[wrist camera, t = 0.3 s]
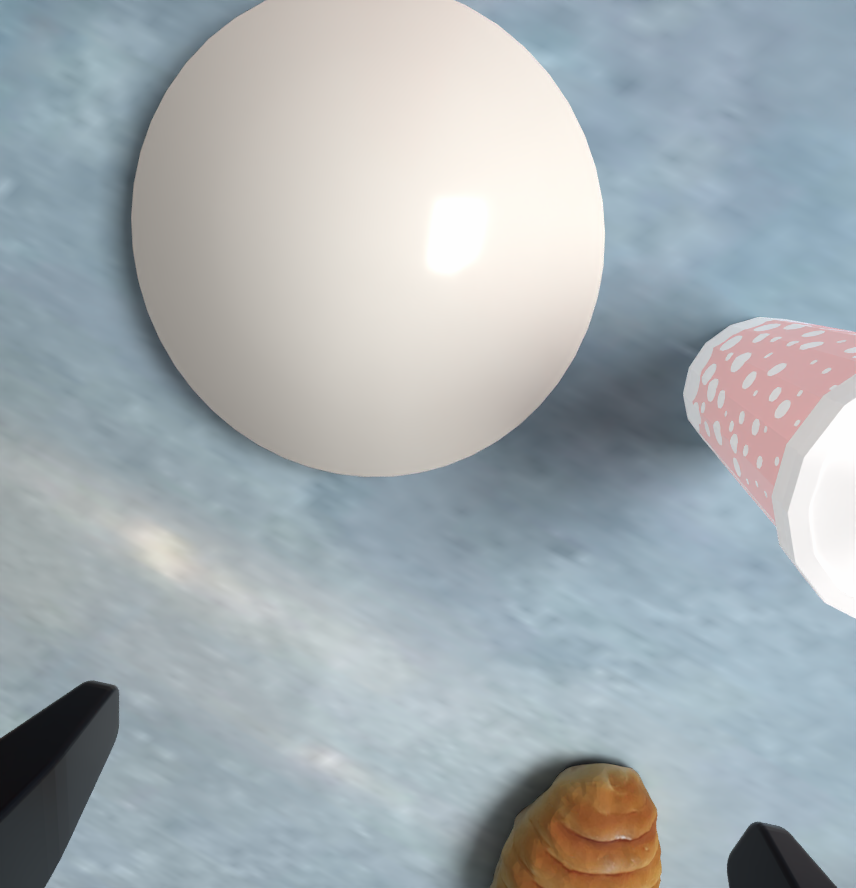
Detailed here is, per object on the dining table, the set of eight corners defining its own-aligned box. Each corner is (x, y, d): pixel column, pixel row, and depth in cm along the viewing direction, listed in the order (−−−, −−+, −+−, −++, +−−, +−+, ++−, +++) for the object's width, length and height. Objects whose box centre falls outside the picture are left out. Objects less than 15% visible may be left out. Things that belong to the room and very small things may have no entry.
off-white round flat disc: (540, 495, 23) (544, 509, 22) (144, 427, 23) (128, 438, 22) (651, 42, 18) (663, 30, 17) (155, -48, 18) (135, -65, 17)
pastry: (524, 735, 27) (536, 816, 23) (685, 762, 27) (722, 847, 23) (478, 894, 30) (481, 988, 26) (623, 918, 30) (646, 1014, 26)
